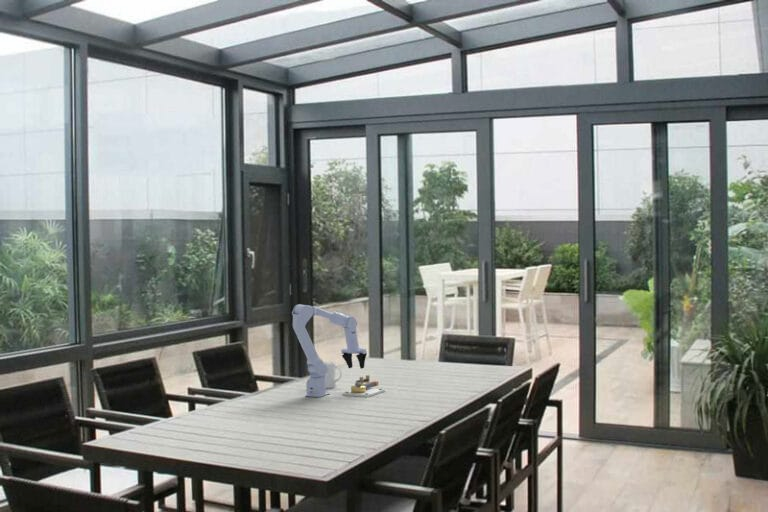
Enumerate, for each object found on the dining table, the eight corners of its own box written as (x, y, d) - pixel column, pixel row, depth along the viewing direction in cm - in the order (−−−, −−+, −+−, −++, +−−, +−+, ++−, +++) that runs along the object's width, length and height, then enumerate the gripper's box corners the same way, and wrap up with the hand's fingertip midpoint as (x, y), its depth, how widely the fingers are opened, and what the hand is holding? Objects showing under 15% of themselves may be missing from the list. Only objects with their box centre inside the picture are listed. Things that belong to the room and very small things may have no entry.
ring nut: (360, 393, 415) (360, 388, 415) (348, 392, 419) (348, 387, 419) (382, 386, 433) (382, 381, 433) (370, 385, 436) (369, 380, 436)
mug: (345, 386, 443) (344, 362, 443) (336, 389, 436) (336, 364, 435) (324, 384, 448) (324, 361, 448) (316, 387, 441) (315, 363, 441)
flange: (367, 397, 411) (367, 386, 411) (342, 395, 418) (342, 384, 418) (385, 391, 425) (384, 380, 425) (360, 389, 432) (360, 379, 432)
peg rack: (363, 388, 436) (363, 378, 436) (355, 387, 438) (354, 377, 438) (374, 385, 444) (374, 375, 444) (365, 384, 447) (365, 374, 447)
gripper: (368, 338, 428) (373, 366, 429) (346, 338, 437) (350, 365, 438) (359, 342, 422) (363, 370, 424) (336, 342, 432) (341, 369, 433)
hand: (356, 367), depth 431 cm, fingers open, 7 cm apart
